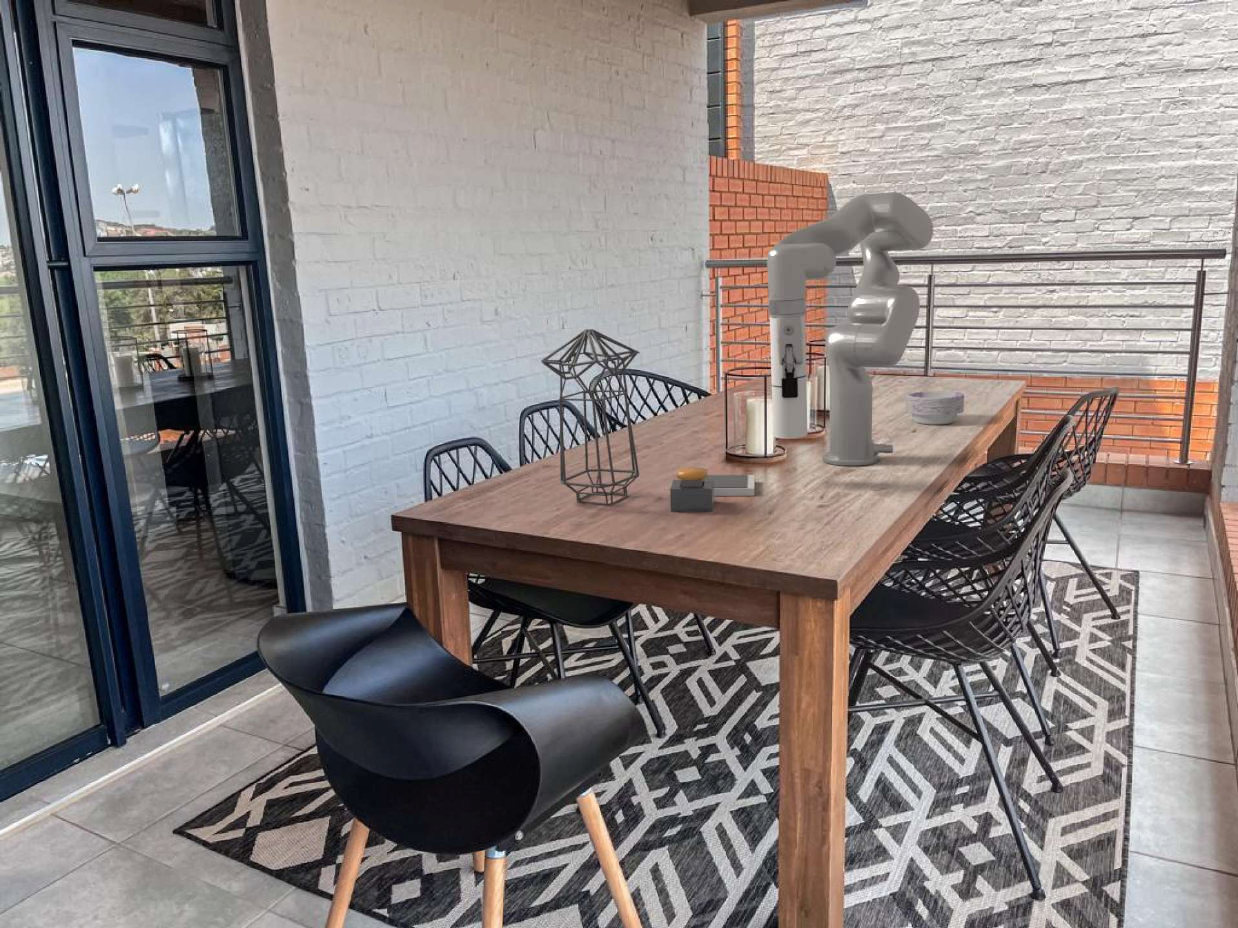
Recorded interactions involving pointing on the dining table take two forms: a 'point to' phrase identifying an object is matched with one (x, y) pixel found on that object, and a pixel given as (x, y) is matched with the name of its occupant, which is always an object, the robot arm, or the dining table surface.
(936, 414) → the paper bowls
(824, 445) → the dining table surface
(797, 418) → the cylindrical container
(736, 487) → the pallet
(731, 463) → the dining table surface
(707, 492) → the button housing
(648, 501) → the dining table surface
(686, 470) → the button
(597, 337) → the geometric lantern
